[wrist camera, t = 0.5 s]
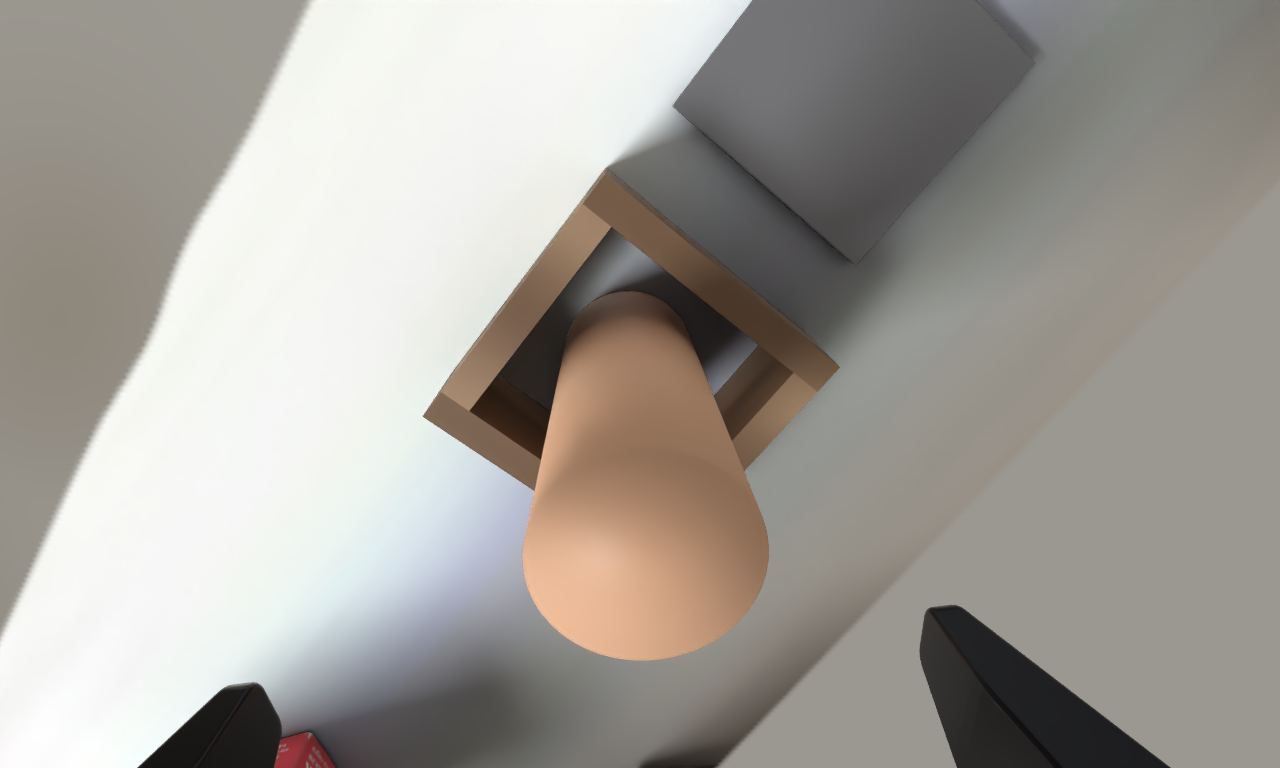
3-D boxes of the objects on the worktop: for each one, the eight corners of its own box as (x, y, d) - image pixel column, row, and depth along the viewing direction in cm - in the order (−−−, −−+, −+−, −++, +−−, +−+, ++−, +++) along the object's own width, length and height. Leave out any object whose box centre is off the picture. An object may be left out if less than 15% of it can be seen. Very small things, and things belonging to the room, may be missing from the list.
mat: (849, 261, 24) (855, 264, 24) (672, 106, 22) (673, 105, 22) (1024, 64, 22) (1034, 63, 22) (846, -124, 21) (853, -132, 20)
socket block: (646, 509, 27) (653, 570, 23) (450, 374, 25) (422, 416, 21) (805, 332, 25) (839, 367, 21) (605, 167, 23) (605, 174, 19)
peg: (696, 404, 26) (774, 645, 14) (574, 418, 26) (543, 673, 14) (685, 283, 24) (762, 433, 12) (555, 298, 24) (502, 464, 12)
